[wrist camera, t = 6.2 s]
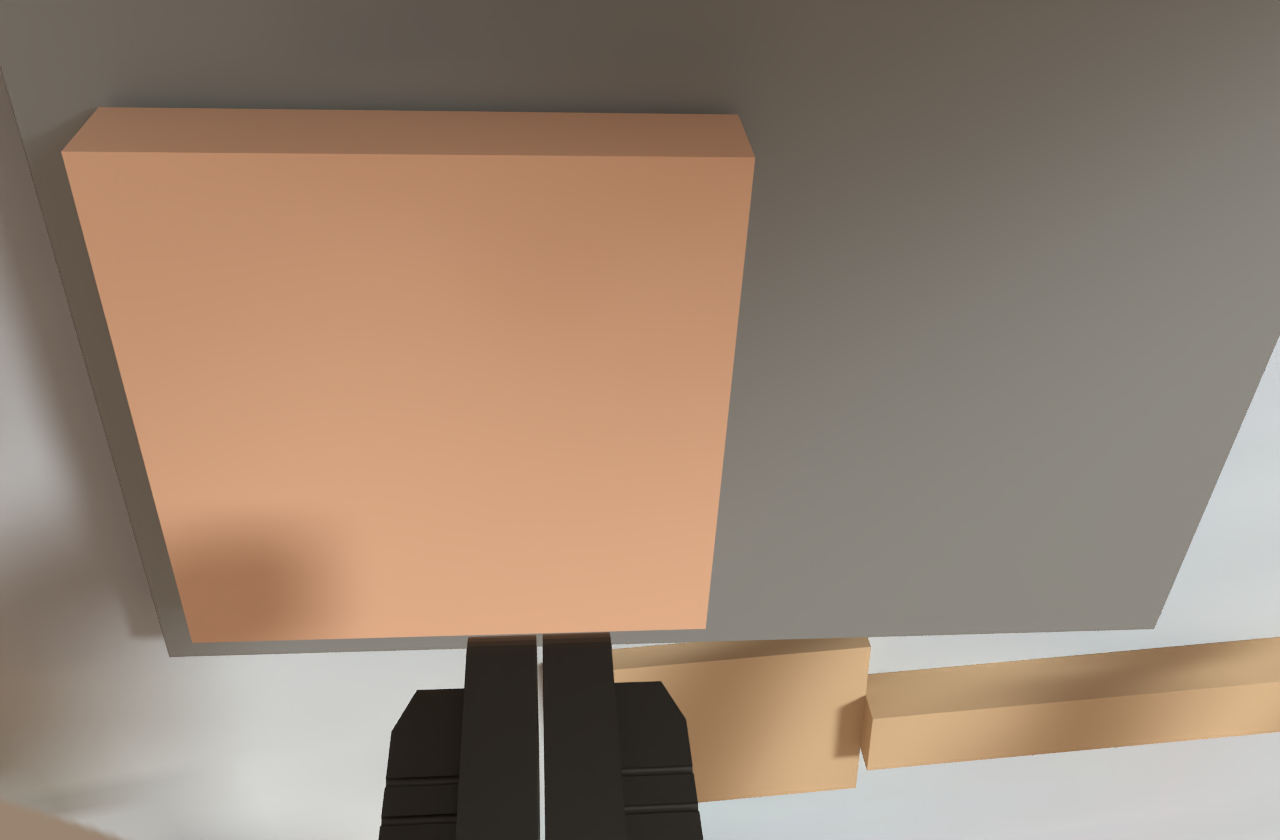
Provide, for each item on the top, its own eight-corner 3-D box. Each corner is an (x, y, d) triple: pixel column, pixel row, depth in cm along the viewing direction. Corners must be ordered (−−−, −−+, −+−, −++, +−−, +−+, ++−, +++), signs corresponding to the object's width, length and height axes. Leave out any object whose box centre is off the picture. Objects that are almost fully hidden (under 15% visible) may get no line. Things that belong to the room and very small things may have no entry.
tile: (736, 109, 15) (103, 101, 14) (755, 158, 14) (61, 152, 13) (694, 560, 20) (215, 571, 19) (705, 628, 18) (191, 642, 18)
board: (-196, -799, 10) (-257, -832, 10) (1632, -662, 12) (1713, -680, 11) (183, 615, 21) (169, 657, 20) (1130, 591, 22) (1153, 629, 22)
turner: (1358, 580, 23) (1395, 623, 22) (1294, 723, 25) (1324, 768, 25) (559, 651, 22) (560, 699, 21) (576, 790, 25) (578, 838, 24)
